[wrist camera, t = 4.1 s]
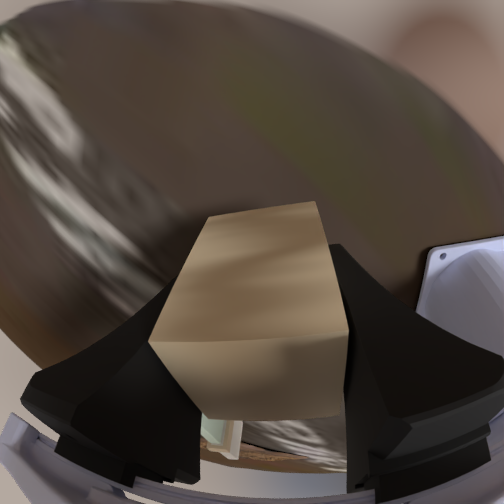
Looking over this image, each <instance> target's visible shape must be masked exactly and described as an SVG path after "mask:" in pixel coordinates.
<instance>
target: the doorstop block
mask: <svg viewBox="0 0 504 504" xmlns="http://www.w3.org/2000/svg"><path fill="white" fill-rule="evenodd" d="M348 334H349V329H348V324H347V319H346V315H345V310H344V306H343V302H342V297H341V293H340V289H339V285H338V281H337V277H336V273H335V269H334V265H333V262H332V258H331V254H330V251H329V247H328V243H327V240H326V236H325V233H324V229H323V226H322V223H321V219H320V216H319V213H318V209H317V206H316V203H315V201H312V202H305V203H297V204H290V205H283V206H276V207H269V208H262V209H255V210H249V211H242V212H236V213H230V214H224V215H218V216H212V217H208V219H207V221H206V223H205V225H204V227H203V229H202V231H201V233H200V234H199V236H198V238H197V240H196V242H195V244H194V246H193V248H192V250H191V252H190V254H189V256H188V258H187V260H186V262H185V264H184V266H183V268H182V270H181V272H180V274H179V276H178V278H177V280H176V282H175V284H174V286H173V288H172V290H171V292H170V294H169V297H168V299H167V301H166V303H165V305H164V307H163V309H162V312H161V314H160V316H159V318H158V320H157V322H156V325H155V327H154V329H153V331H152V334H151V336H150V338H149V340H148V342H149V344H150V345H151V347H152V348H153V349H154V351H155V352H156V354H157V355H158V357H159V358H160V359H161V361H162V362H163V364H164V365H165V366H166V368H167V369H168V370H169V372H170V373H171V374H172V376H173V377H174V378H175V380H176V381H177V382H178V384H179V385H180V386H181V387H182V389H183V390H184V391H185V392H186V394H187V395H188V396H189V397H190V399H191V400H192V401H193V402H194V403H195V405H196V406H197V407H198V408H199V409H200V410H201V412H202V413H203V414H204V415H205V416H206V417H207V418H208V419H214V420H233V421H279V420H298V419H311V418H322V417H330V416H338V415H339V414H340V408H341V401H342V393H343V386H344V377H345V368H346V358H347V347H348Z"/></svg>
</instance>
